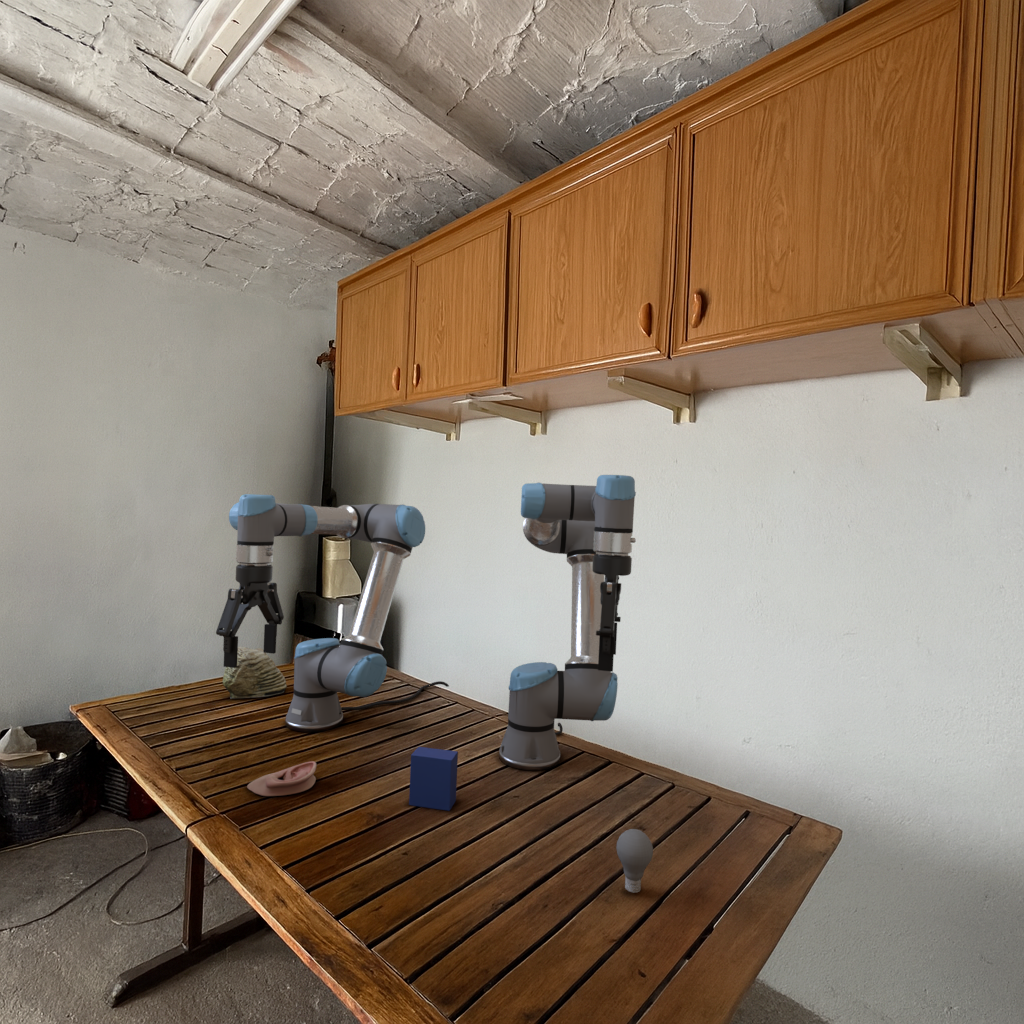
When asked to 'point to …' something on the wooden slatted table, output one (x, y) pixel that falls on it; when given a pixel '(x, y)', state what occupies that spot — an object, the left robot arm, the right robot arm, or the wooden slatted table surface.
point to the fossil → (253, 675)
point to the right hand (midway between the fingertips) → (607, 661)
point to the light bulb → (634, 857)
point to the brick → (433, 778)
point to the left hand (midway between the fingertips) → (250, 659)
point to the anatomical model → (285, 781)
